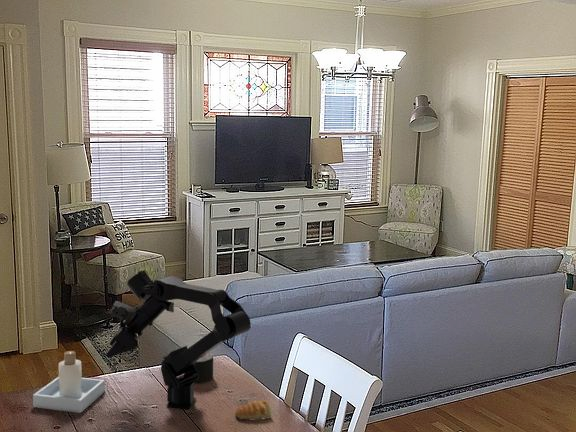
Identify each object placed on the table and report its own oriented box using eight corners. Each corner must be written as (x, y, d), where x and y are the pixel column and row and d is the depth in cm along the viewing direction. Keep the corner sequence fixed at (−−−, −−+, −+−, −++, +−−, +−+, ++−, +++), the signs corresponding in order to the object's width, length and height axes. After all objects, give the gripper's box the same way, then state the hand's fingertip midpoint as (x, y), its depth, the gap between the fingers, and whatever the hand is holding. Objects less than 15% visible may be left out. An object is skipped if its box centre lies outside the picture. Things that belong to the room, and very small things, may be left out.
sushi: (179, 378, 198) (179, 354, 197) (199, 370, 205) (199, 346, 203) (198, 386, 193) (198, 360, 192) (218, 377, 200) (218, 352, 199)
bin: (105, 391, 188) (104, 380, 187) (80, 412, 174) (80, 400, 174) (60, 386, 190) (60, 375, 190) (33, 407, 177) (32, 395, 176)
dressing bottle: (86, 394, 184) (85, 350, 182) (75, 403, 179) (73, 357, 177) (66, 391, 186) (65, 348, 184) (55, 400, 180) (53, 355, 178)
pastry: (238, 424, 171) (239, 410, 170) (232, 413, 177) (232, 399, 176) (272, 419, 174) (273, 405, 173) (265, 408, 180) (265, 395, 180)
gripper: (130, 283, 190) (92, 321, 190) (124, 302, 172) (82, 343, 172) (157, 309, 193) (120, 346, 193) (155, 329, 174) (113, 370, 174)
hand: (108, 350), depth 183 cm, fingers open, 9 cm apart
